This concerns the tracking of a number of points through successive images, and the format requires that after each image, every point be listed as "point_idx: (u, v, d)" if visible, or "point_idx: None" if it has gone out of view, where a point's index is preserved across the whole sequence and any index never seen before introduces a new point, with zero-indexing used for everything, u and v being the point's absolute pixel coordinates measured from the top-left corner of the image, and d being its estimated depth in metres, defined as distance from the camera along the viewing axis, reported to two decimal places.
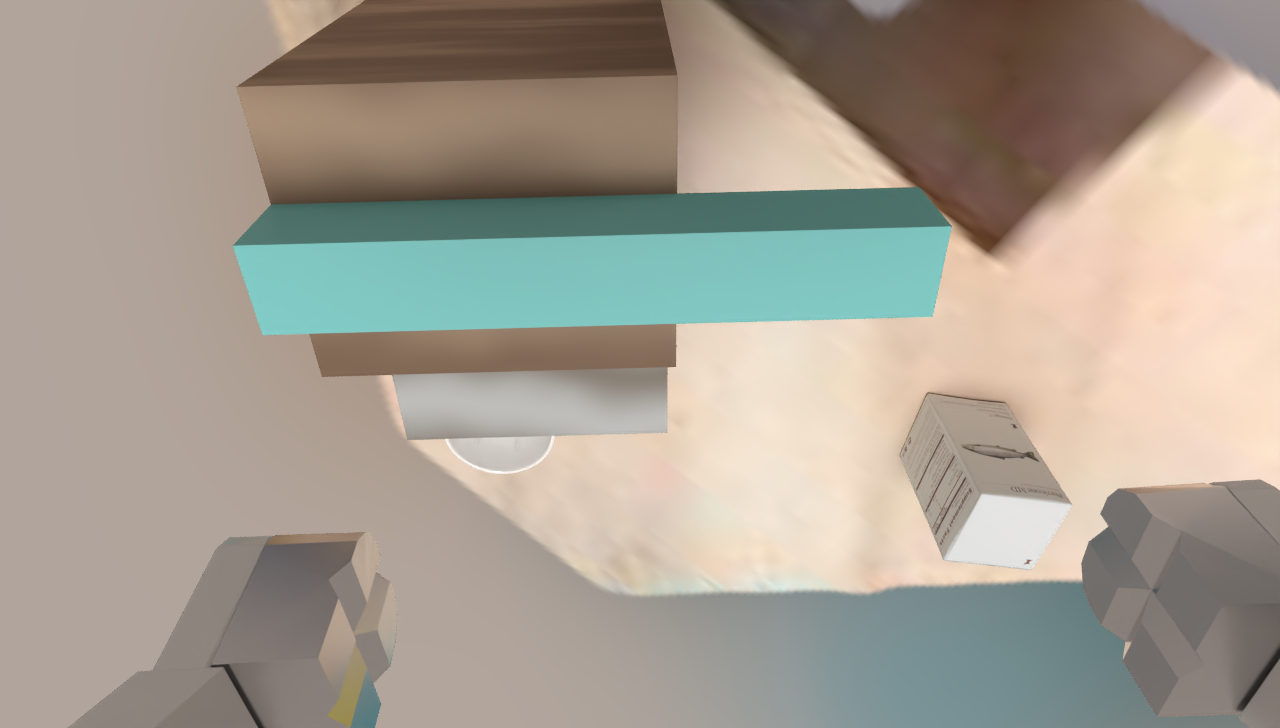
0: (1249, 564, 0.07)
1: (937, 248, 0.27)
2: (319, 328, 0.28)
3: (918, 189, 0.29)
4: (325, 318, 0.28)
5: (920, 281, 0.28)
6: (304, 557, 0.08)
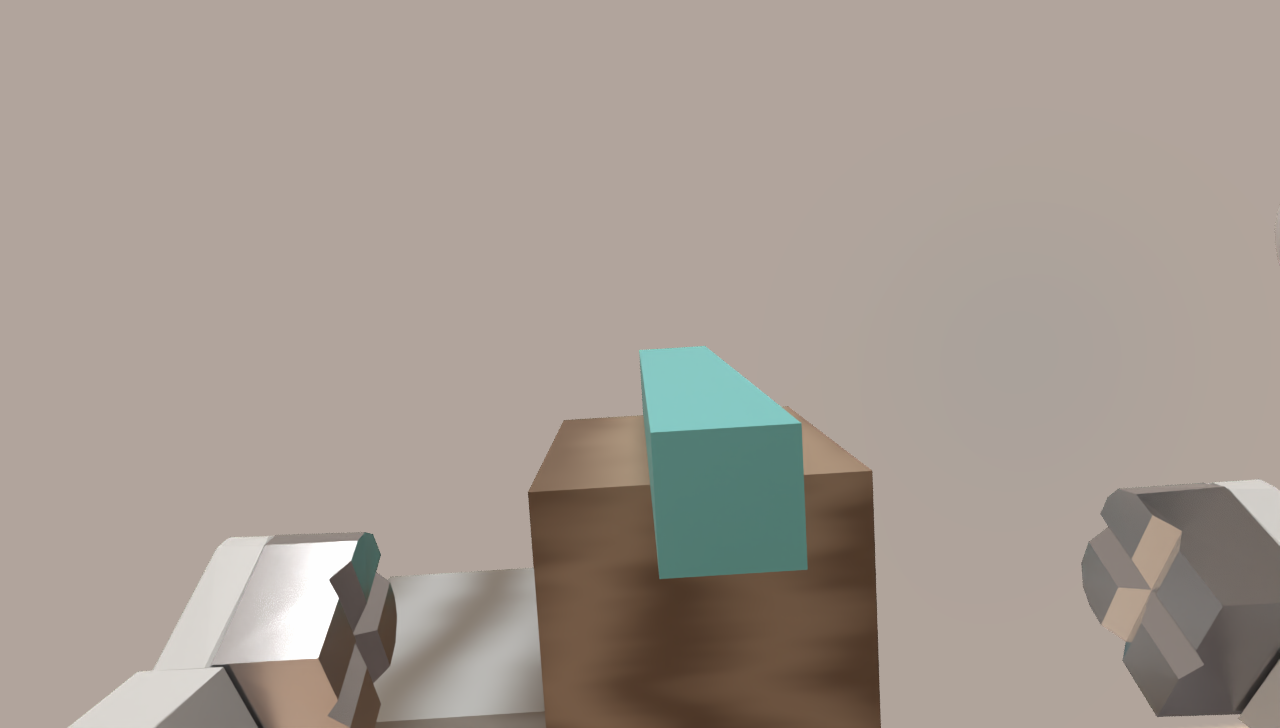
0: (1249, 562, 0.07)
1: (764, 422, 0.19)
2: (643, 353, 0.40)
3: (806, 560, 0.19)
4: (652, 353, 0.40)
5: (710, 423, 0.19)
6: (304, 557, 0.08)
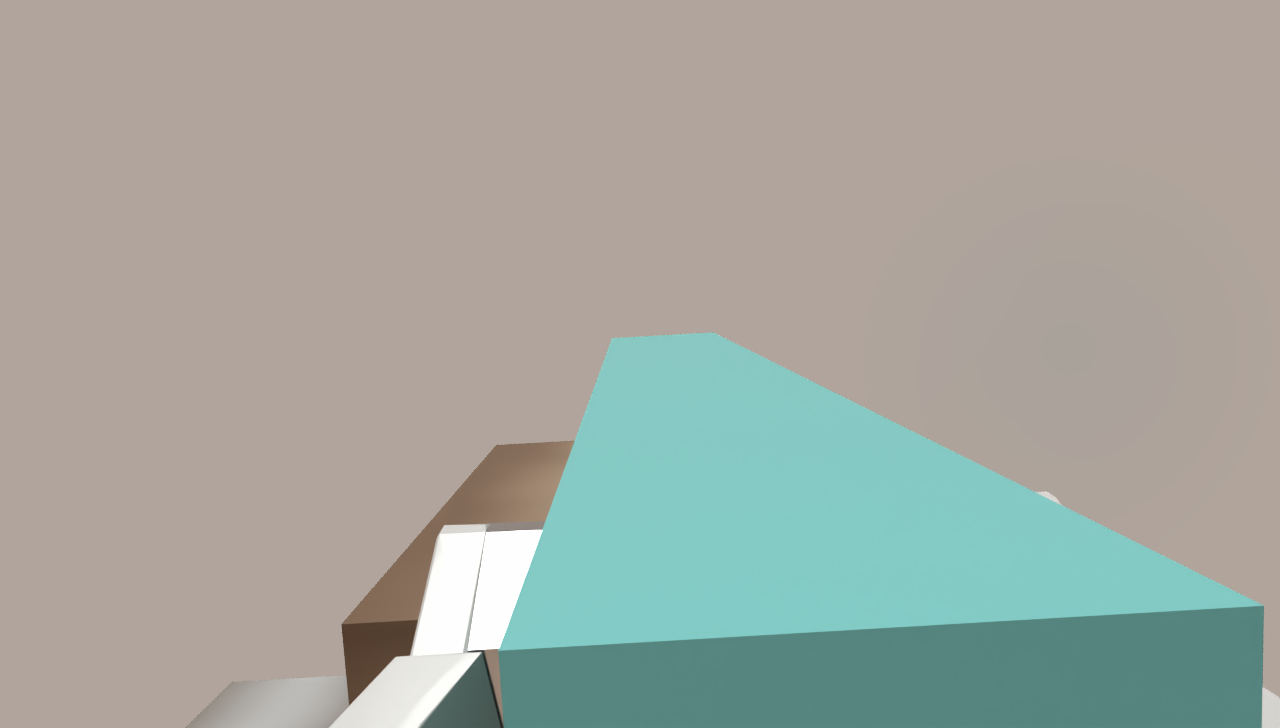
0: None
1: (1052, 584, 0.04)
2: (617, 341, 0.25)
3: None
4: (630, 341, 0.25)
5: (786, 574, 0.04)
6: (529, 544, 0.08)
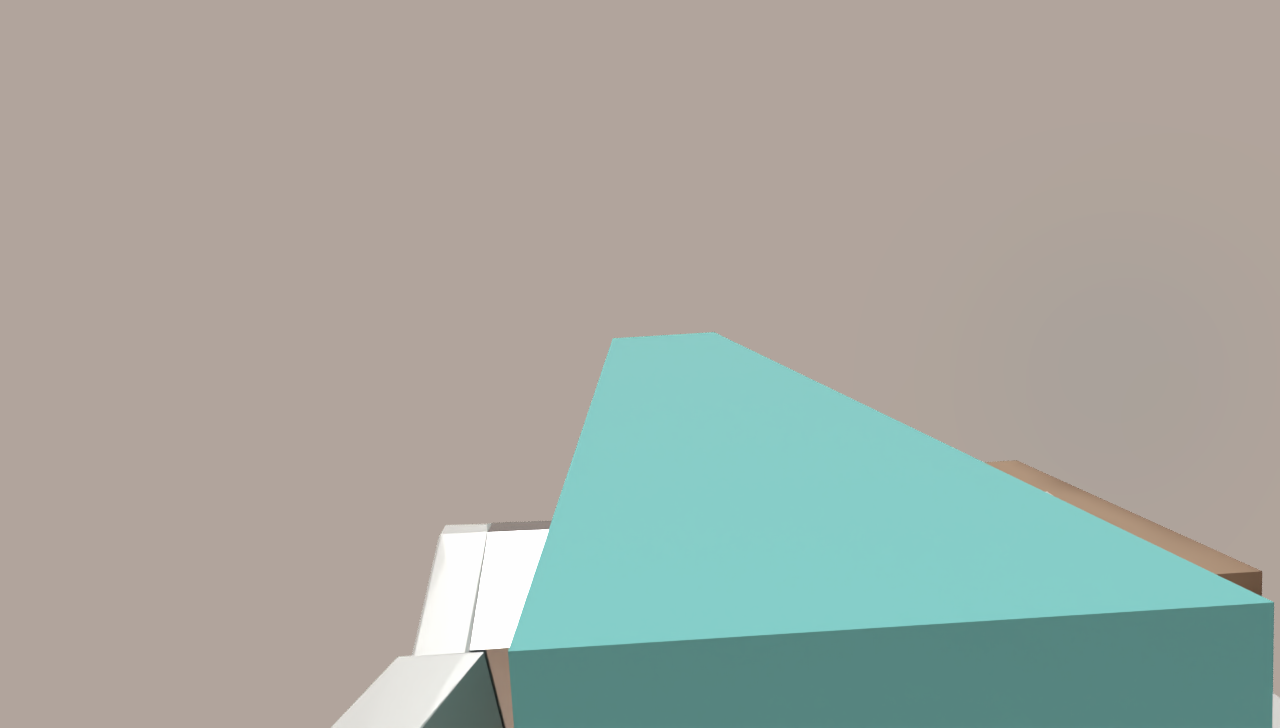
0: None
1: (1061, 581, 0.04)
2: (618, 342, 0.25)
3: None
4: (630, 341, 0.25)
5: (795, 573, 0.04)
6: (530, 544, 0.08)
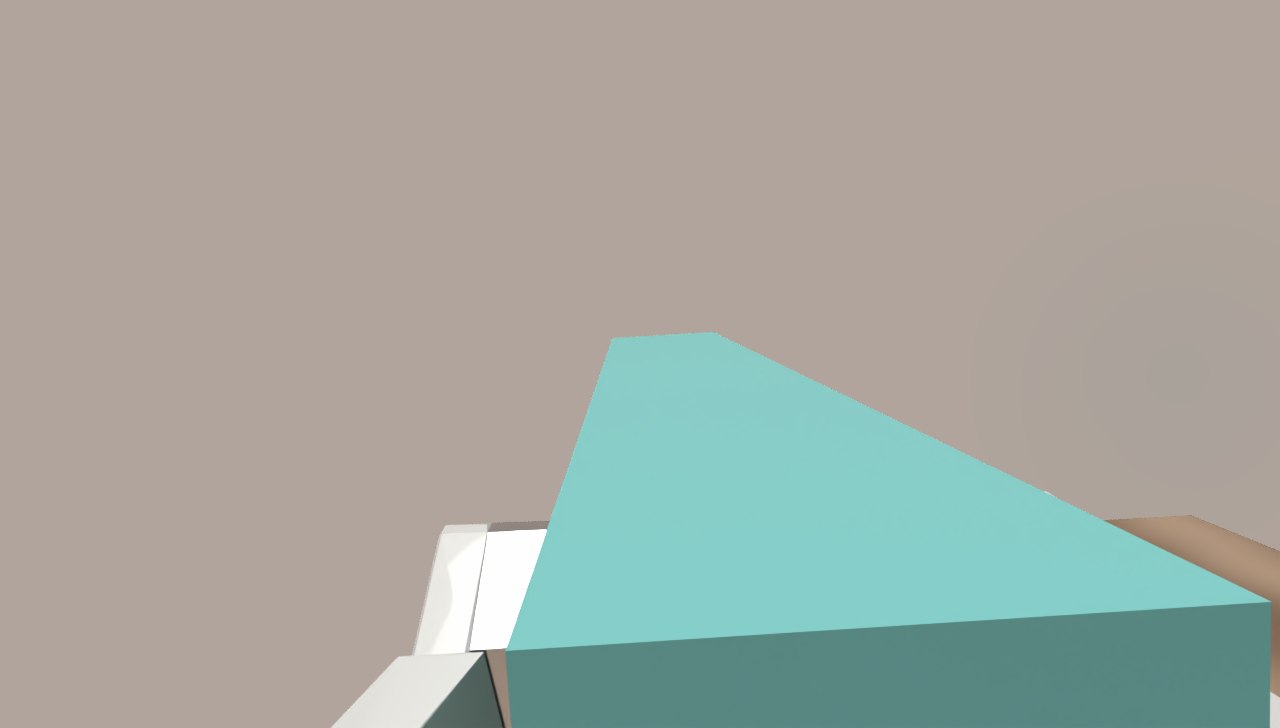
0: None
1: (1058, 581, 0.04)
2: (617, 341, 0.25)
3: None
4: (630, 341, 0.25)
5: (792, 573, 0.04)
6: (531, 544, 0.08)
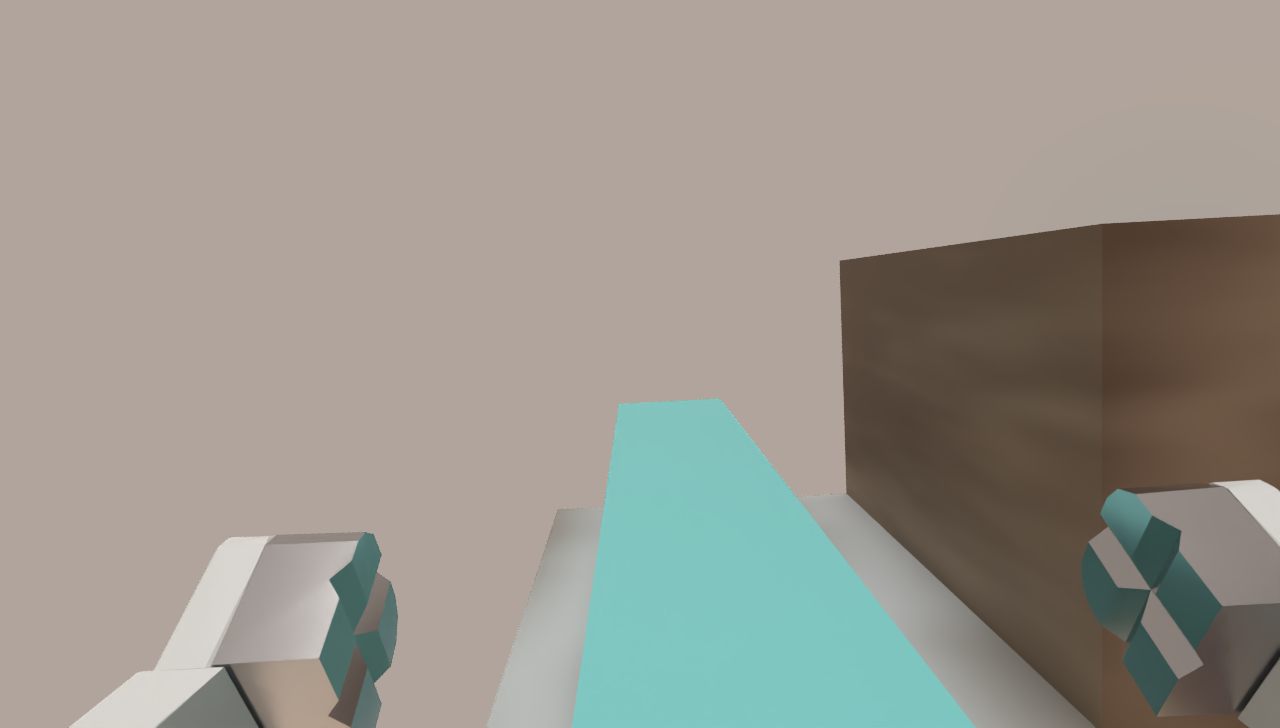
0: (1248, 564, 0.07)
1: None
2: (624, 413, 0.26)
3: None
4: (636, 413, 0.25)
5: None
6: (305, 557, 0.08)
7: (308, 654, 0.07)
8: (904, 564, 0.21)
